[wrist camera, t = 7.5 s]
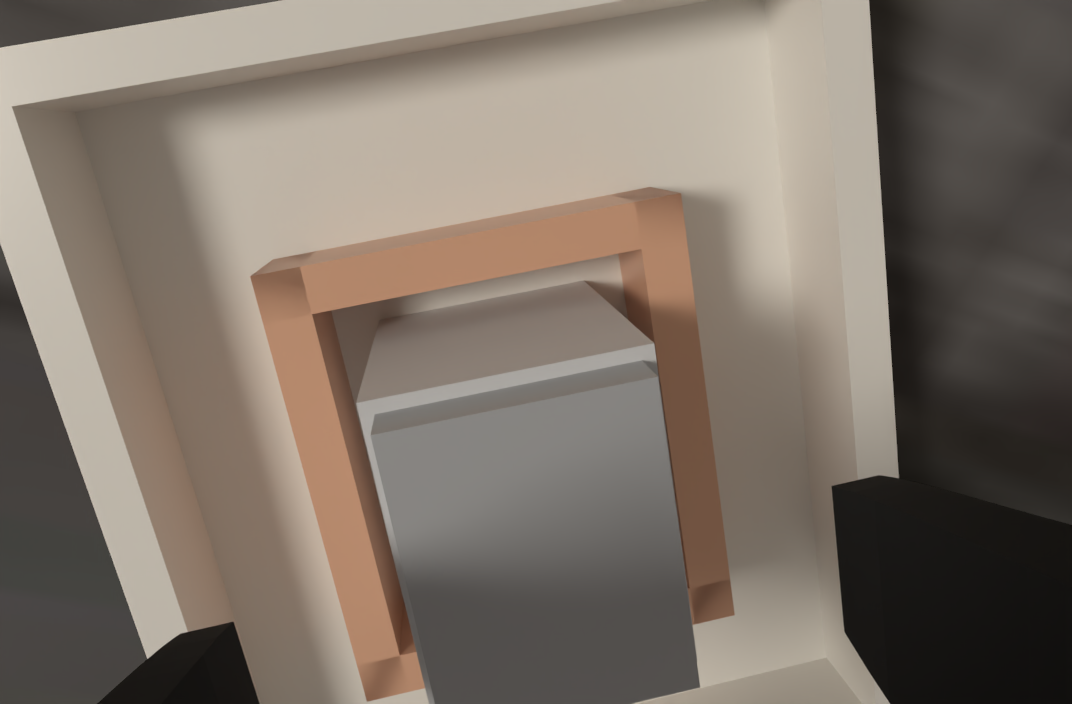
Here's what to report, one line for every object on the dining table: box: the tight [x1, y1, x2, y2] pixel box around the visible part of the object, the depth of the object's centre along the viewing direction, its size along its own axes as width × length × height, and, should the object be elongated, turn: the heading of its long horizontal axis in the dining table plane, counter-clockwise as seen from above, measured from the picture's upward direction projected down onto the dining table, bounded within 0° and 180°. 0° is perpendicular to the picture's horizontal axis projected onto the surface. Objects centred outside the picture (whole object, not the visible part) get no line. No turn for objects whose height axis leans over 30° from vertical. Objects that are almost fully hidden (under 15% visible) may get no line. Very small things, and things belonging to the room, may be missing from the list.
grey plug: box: [356, 281, 700, 704], centre depth 14 cm, size 5×4×6 cm
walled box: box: [0, 0, 899, 704], centre depth 16 cm, size 16×14×3 cm
